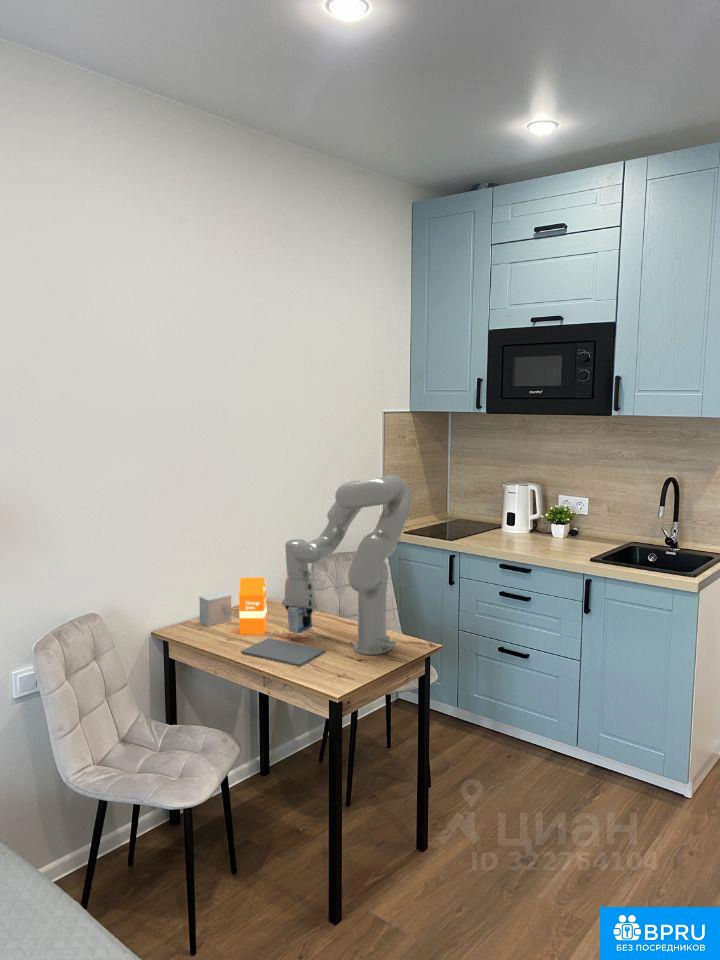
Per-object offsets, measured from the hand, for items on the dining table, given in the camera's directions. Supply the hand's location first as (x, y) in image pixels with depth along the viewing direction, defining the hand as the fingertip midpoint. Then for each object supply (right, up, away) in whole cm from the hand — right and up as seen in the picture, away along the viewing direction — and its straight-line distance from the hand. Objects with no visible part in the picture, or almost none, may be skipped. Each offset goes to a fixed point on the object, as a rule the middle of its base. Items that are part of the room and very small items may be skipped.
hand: (300, 624), depth 254 cm
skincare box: (-34, -3, +20) cm, 40 cm away
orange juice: (-18, -4, +10) cm, 21 cm away
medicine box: (0, -2, 0) cm, 2 cm away
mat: (-5, -7, -13) cm, 15 cm away
